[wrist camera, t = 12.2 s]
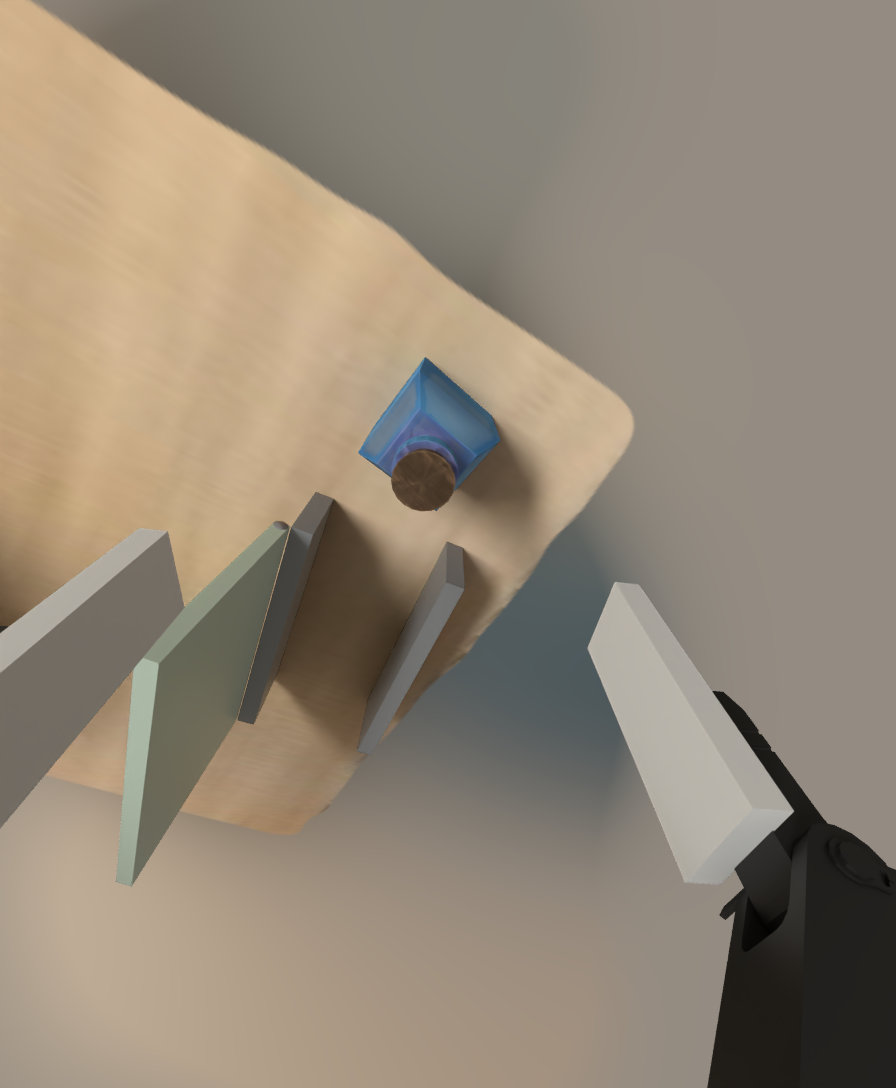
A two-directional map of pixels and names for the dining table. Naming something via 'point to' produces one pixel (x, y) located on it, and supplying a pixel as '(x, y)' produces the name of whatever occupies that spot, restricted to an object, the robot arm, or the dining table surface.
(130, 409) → the dining table surface
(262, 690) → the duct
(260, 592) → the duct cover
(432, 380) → the perfume bottle
